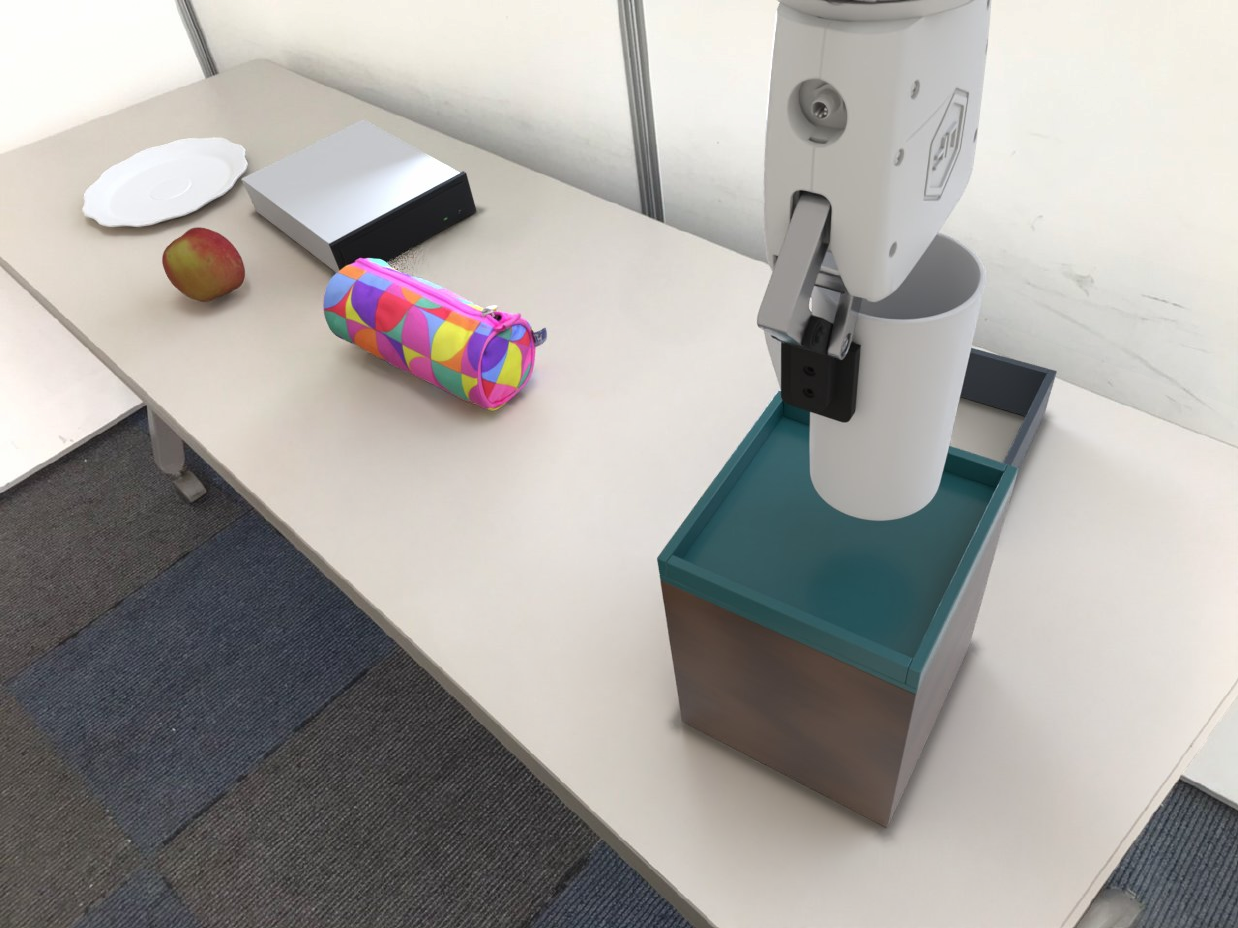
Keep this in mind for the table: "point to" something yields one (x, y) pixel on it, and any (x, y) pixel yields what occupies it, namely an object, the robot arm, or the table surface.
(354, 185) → the disc drive
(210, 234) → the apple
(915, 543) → the tray
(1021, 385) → the dark gray square frame
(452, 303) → the pencil case
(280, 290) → the table surface
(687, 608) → the riser
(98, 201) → the plate
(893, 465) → the mug
